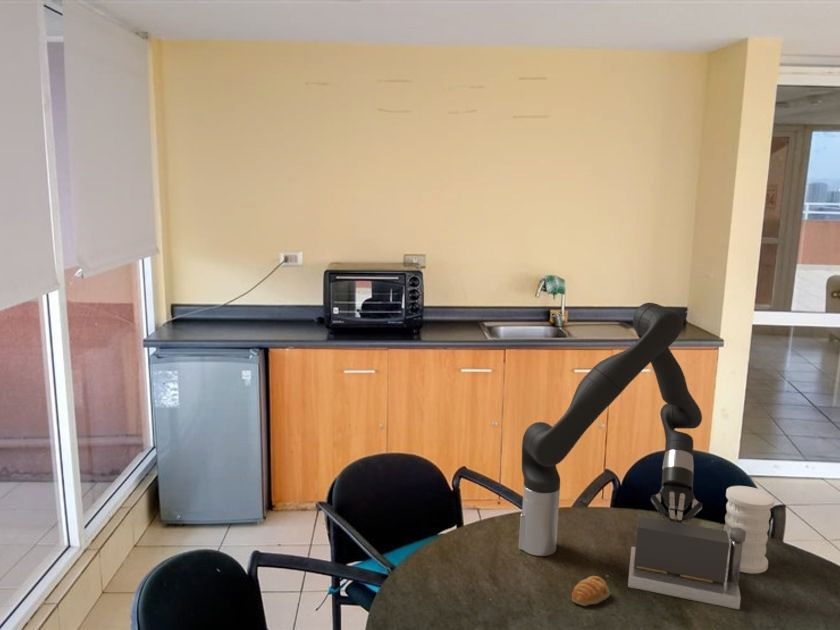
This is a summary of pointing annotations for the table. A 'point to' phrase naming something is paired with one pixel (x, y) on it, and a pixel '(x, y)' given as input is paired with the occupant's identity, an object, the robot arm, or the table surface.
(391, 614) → the table surface
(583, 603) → the pastry
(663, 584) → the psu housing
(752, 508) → the decorative container
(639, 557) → the grey block with knob
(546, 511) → the robot arm
